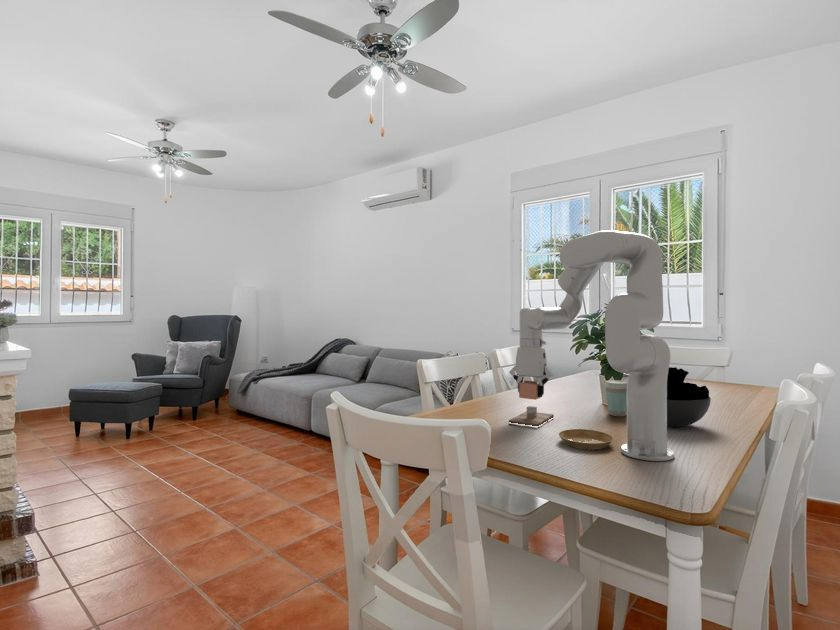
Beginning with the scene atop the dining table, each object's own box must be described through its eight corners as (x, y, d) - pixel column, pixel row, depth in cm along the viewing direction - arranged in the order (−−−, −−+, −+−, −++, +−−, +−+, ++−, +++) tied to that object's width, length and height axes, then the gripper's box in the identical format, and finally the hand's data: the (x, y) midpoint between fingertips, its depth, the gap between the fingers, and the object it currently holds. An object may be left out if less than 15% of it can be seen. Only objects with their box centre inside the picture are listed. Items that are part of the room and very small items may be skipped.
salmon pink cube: (536, 399, 153) (536, 383, 153) (519, 397, 156) (519, 381, 156) (542, 396, 158) (542, 380, 158) (525, 394, 161) (525, 379, 161)
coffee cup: (634, 417, 161) (634, 383, 161) (610, 417, 161) (609, 383, 161) (624, 411, 170) (623, 379, 169) (601, 412, 170) (600, 380, 170)
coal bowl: (691, 418, 158) (691, 364, 158) (724, 434, 138) (723, 372, 138) (631, 418, 160) (631, 364, 160) (655, 433, 140) (655, 372, 140)
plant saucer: (618, 442, 132) (618, 433, 132) (606, 456, 120) (606, 446, 120) (567, 435, 140) (567, 426, 140) (551, 447, 128) (551, 438, 128)
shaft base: (537, 428, 147) (537, 413, 147) (508, 424, 153) (508, 409, 153) (553, 418, 161) (553, 404, 161) (526, 415, 166) (526, 401, 166)
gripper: (559, 343, 155) (559, 396, 155) (511, 341, 165) (511, 391, 165) (551, 345, 149) (551, 400, 149) (503, 343, 159) (503, 394, 159)
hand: (530, 395), depth 157 cm, fingers closed on salmon pink cube, 6 cm apart
